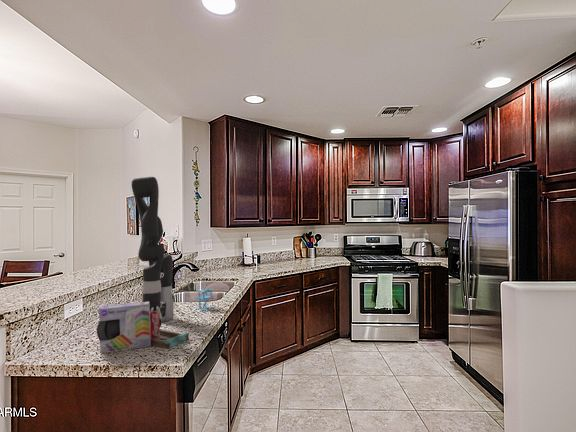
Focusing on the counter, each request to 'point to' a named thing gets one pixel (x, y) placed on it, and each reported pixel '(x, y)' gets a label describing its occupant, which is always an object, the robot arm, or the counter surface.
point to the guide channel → (174, 339)
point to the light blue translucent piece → (204, 298)
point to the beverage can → (155, 324)
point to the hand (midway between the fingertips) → (151, 329)
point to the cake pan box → (124, 326)
